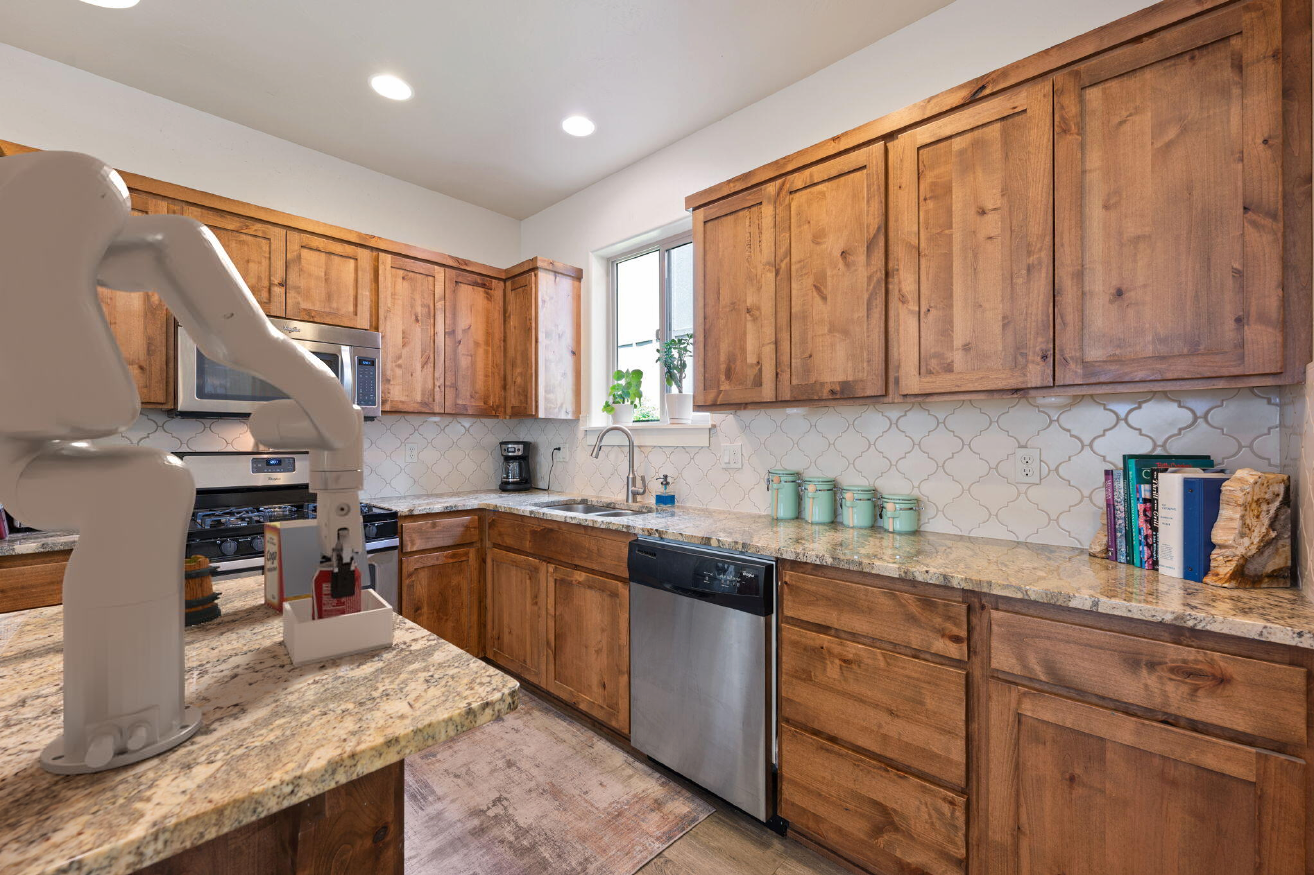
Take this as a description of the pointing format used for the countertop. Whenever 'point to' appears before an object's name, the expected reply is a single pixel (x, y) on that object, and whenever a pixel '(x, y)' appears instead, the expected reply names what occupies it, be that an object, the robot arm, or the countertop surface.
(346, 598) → the soda can
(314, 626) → the white open box
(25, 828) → the countertop surface
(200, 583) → the mug
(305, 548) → the lid
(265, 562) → the baking soda box
